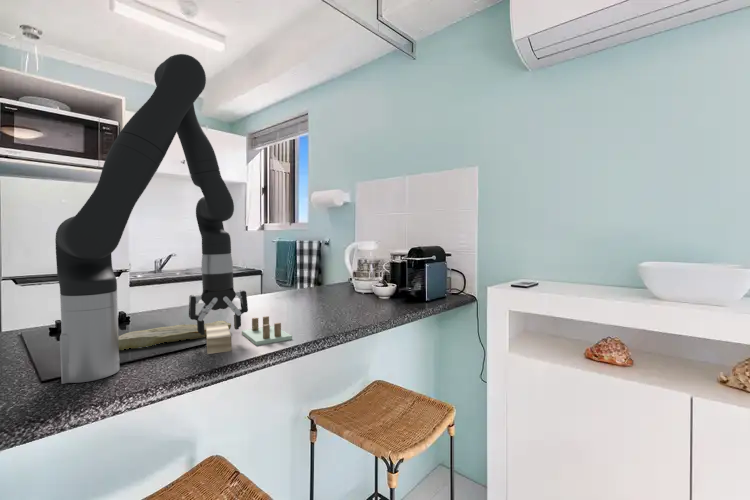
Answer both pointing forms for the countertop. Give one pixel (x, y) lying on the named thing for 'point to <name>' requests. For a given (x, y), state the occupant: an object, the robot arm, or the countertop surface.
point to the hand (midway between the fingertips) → (220, 331)
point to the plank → (218, 339)
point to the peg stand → (265, 332)
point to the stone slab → (163, 335)
